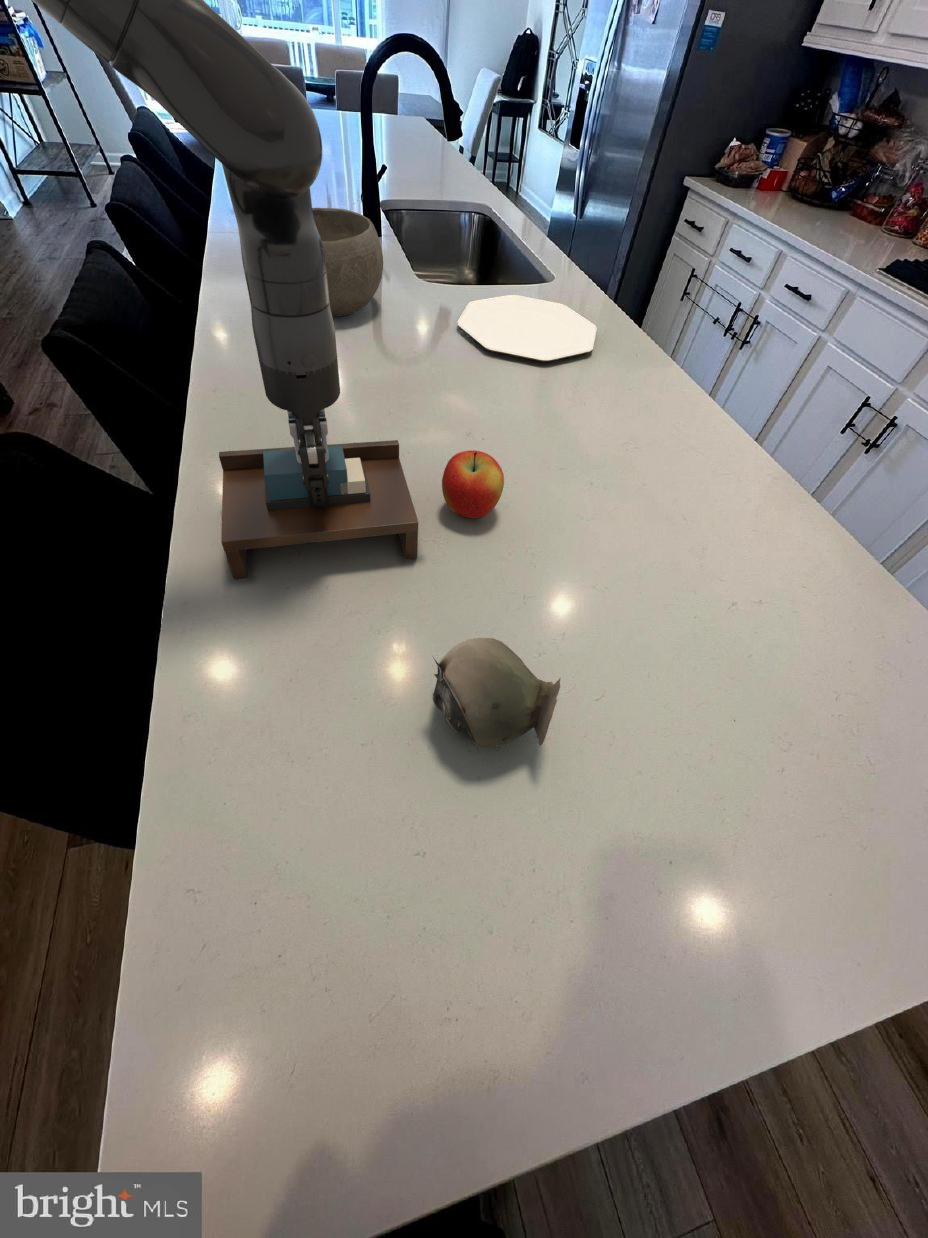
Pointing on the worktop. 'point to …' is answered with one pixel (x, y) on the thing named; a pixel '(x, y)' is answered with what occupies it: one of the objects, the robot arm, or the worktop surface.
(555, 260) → the worktop surface
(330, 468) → the teal eraser block
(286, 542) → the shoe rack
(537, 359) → the plate
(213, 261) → the worktop surface
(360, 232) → the bowl
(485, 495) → the apple
